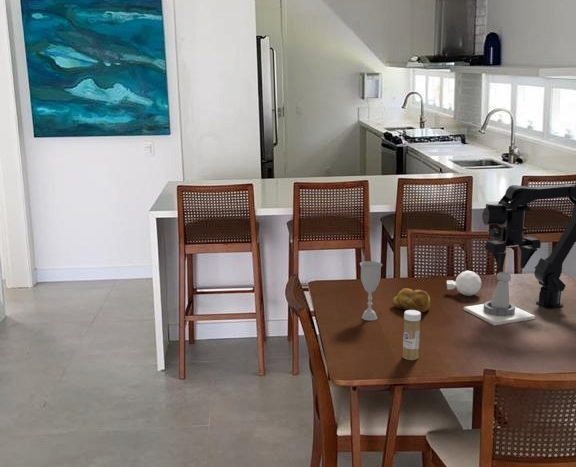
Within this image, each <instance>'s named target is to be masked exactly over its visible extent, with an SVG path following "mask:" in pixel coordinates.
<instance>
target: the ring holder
mask: <svg viewBox="0 0 576 467" xmlns="http://www.w3.org/2000/svg"><path fill="white" fill-rule="evenodd" d="M491 301H492V300H487V301H485V302H484V303H480V304H474V305H467V306H463V310H464V311H465V312H468V313H469V314H472V315H474V317H477V318H479V319H481V320H483V321H485V322H487V323H488V324H490V325H493V326H499V325H505V324H511V323H512V324H513V323H517V322H518V323H519V322H524V321H529V320H535V319H536V315H534V314H532V313H530V312H527V311H525V310H523V309H521V308H518V307H516V306H515V305H514V304H513V303H511V302H509V305H510V306H509V308H508V309H495V308H492V305H491Z"/></svg>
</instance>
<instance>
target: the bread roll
mask: <svg viewBox="0 0 576 467" xmlns="http://www.w3.org/2000/svg"><path fill="white" fill-rule="evenodd" d="M392 305H393V306H394V307H395V308H397V309H398V310H399V309H400V310H405V311H407V310H416V311H419V312H420V313H421V314H422V313H425V312H427V311H428V310H429V309H430V307H431V297H430V295H429V294H428V293H427V291H424V290H422V289H415V290H413V289H411V288H408V287H407V288H404V287H403V288H402V289H401V290H400V291H399V292H398V293H397V296H394V297H393V298H392Z"/></svg>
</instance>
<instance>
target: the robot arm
mask: <svg viewBox="0 0 576 467" xmlns="http://www.w3.org/2000/svg"><path fill="white" fill-rule="evenodd" d="M562 198H564V199H565V198H567V199H568V200H569V201H570V202H571V203H572V204H573V207H572V210H571V219H570V221H569V223H568V224H567V226H566V228H565V229H564V230H563V232H562V234H561V236H560V238H559V239H558V241H557V243H556V245H555V246H554V247H553V250H552V251H551V253H550V254H549V256H548V257H546V258H543V257H541V258H540V259H539V260H538V262H537V264H536V266H534V269H535V270H534V272H533V274H534V277H535V279H536V280H537V281H538V284H539V285H540V291H539V294H538V295H539V296H538V300H537V301H535V303H536V304H538V305H540V306H541V307H544V308H547V309H554V308H561V307H564V304H563V303H561V299H562V298H561V296H562V292H564V291H565V288H566V287H567V286H566V284H565V283H564V282H563V281H562V280H561V279H560V278H561V275H562V273H563V264H564V262H565V260H566V258H568V255H569V254H570V252H571V250H572V248H573V247H574V246H575V243H576V184H573V183H566V184H558V185H546V186H535V187H533V186H525V185H516V184H515V185H514V184H513V185H509V186H508V188H507V189H506V191H505V193H504V194H503V196H502V198H500V200H499V201H498V202H497V203H495V204H493V203H486V204H485V207H484V209H483V212H482V214H481V215H482V218H481V219H482V222H483V224H484V225H485V226H489V225H490V226H492V225H494V226H495V225H496V226H497V225H503V226H502V229H501V230H499V229H497V228H489V232H488V235H489V238H490V239H493V240H487V241H486V242H485V245H484V250H486V251H488V252H489V253H491V254H492V256H493V257H494V259H495V262H496V263H495V264H496V265H497V266H496V267H497V270H498V271H499V272H503V267H504V265H505V260H506V256H507V252H506V250H507V249H510V248H519V250H520V252H521V253H520V268H521V269H525V267H526V265H527V264H528V262H529V261H530V259H531V258H532V256H533V255H534V253H535V252H537V251H538V249H541V246H542V242H541V241H540V239H539V238H536V237H532V236H526V237H525V236H524V232H527V228H526V227H524V225H525V217H526V216H525V213H526V212H531V211H532V208H530V207H531V206H529V205H528V204H531V203H533V202H535V201H538V200H552V199H562ZM504 223H505V225H504Z"/></svg>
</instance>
